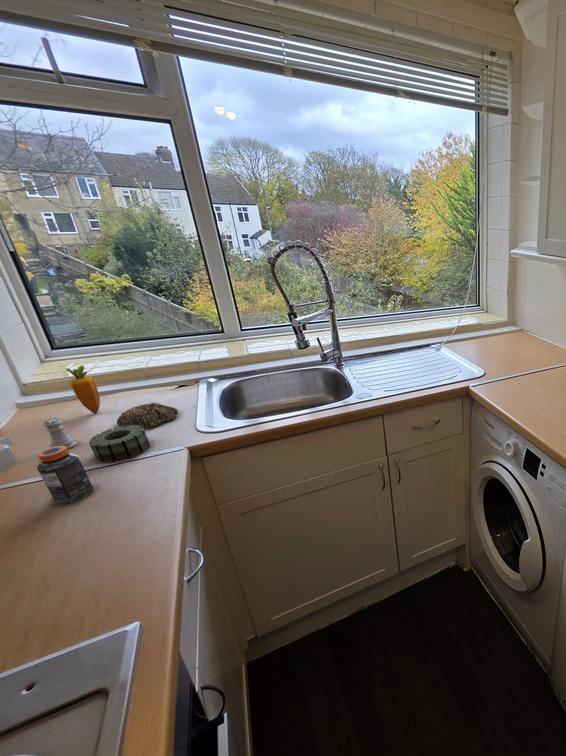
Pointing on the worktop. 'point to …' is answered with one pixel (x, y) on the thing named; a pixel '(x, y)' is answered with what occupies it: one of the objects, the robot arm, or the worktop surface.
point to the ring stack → (119, 443)
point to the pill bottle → (64, 474)
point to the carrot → (85, 389)
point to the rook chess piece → (58, 434)
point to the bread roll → (147, 415)
